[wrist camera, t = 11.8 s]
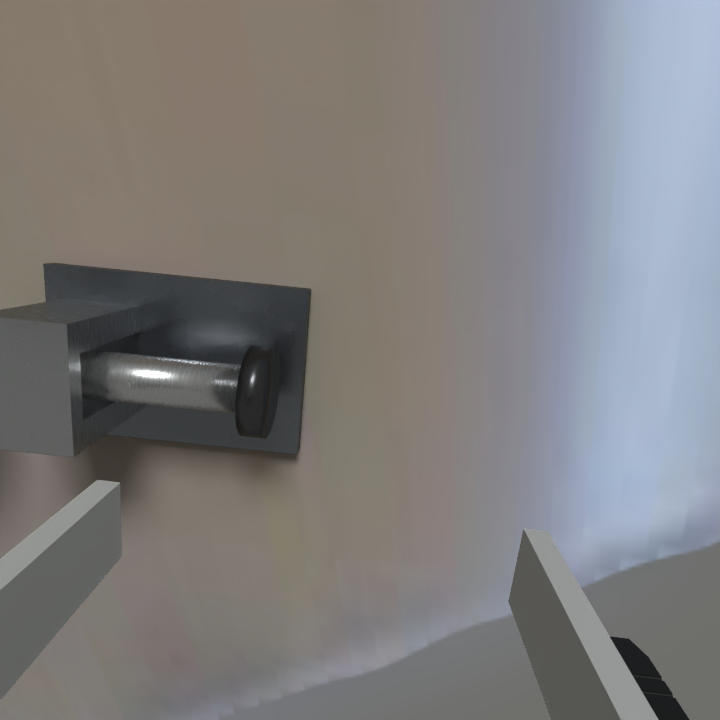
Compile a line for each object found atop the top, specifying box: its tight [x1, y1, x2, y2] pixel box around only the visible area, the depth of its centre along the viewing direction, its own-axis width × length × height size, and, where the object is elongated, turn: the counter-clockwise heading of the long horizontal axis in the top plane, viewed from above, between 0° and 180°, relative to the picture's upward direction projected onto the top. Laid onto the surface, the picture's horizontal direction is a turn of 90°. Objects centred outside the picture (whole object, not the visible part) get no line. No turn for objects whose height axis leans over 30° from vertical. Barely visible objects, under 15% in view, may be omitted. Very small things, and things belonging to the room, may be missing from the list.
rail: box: [0, 263, 311, 457], centre depth 30 cm, size 18×12×9 cm, turn 84°
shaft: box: [80, 345, 280, 439], centre depth 29 cm, size 16×6×6 cm, turn 84°
